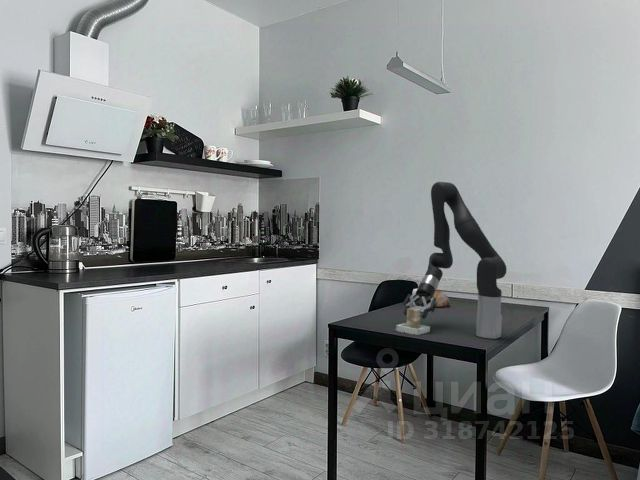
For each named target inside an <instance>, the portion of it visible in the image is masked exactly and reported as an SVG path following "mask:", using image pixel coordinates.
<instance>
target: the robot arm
mask: <svg viewBox="0 0 640 480" xmlns="http://www.w3.org/2000/svg"><path fill="white" fill-rule="evenodd" d="M430 198H431V208H432V216H433V224H434V225H433V227H434V228H433V230H434V232H433V246H434V247H436V248H438V249H440V250H441V252H433V253H431V254H430V256H429V259H428V266H427V270H426V273H425V274H424V276H423V278H422V279H421V281H420V283H419V285H418V286H417V288H418V289H417V288H416V289H417V291H416V294H415V295H414V296H412V294H410V293H408V294H407V296H406V298H405V299H404V301H403V302H402V305H403V306H404V310H403V312H402V313H403V316H406V317H407V309H409V308H412V307H415V306H421V307H423V306H425V308H426V309H424V311H423V312H421V313H422V314H420V318H421V319H423V320H424V319H426V318H427V316H428V314H430V313H434V312H435V310H436V308H437V307H436V305H437V299H436V298H433V296H434V294H435V291H436V290H437V289H438V286H439V283H440V281H441V279H442V278H443V275H444V274H443V271H442V270H441V269H446V270H447V269H448V270H449V269H450V268H451V267H452V265H453V263H454V259H453V253H452V250H451V243H450V237H451V236H450V235H451V233H450V232H451V231H450V225H449V223H448V222H449V221H448V219H447V217H446V213H445V203H446V204H447V206H448V207H449V209H450V210H451V213H452V214H453V226H454V228H455V231H456V232H457V234H458V236H459V237H460V238H461V240H462V241H463V243H465V245H467V246H468V247H469V248H470V249H471V250H472V251H474V252H475V253H476V254H477V256H479V257H480V260H479V261H478V264H477V266H476V288H477V292H478V293H477V294H478V295H477V307H476V308H477V309H476V310H477V313H476V330H475V332H476V333H475V335H476V336H477V337H479V338H484V339H494V340H497V339H499V338H501V337H502V327H503V326H502V323H503V314H501V310H502V309H501V308H502V307H501V306H502V289H500V288H499V287H498V285H497V284H498V283H497V282H498V281H497V280H500V279H502V278H505V275H506V274H507V265H506V263H505V261H504V259H503V258H502V257H501V256H500V254H499V253H498V252H497V251H496V249H495V248H494V247H493V246H492V244H491V243H490V241H489V240H488V238H487V236H486V235H485V233H484V231H482V229H481V227H480V225H479V224H478V222H477V220H476V219H475V218H474V216H473V214H472V213H471V212H470V210H469V207H467V206H466V204H465V201H464V199H463V198H462V196H461V194H460V192H459V190H458V188H457V186H456V185H455V184H454V183H452V182H447V181H446V182H445V181H436V182H435V183H434V184H433V185H432V186H431V189H430ZM432 298H433V299H432ZM413 302H414V303H415V304H413ZM430 302H432V303H431V305H430V307H428V304H429V303H430ZM435 307H436V308H435ZM429 312H430V313H429Z"/></svg>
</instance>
